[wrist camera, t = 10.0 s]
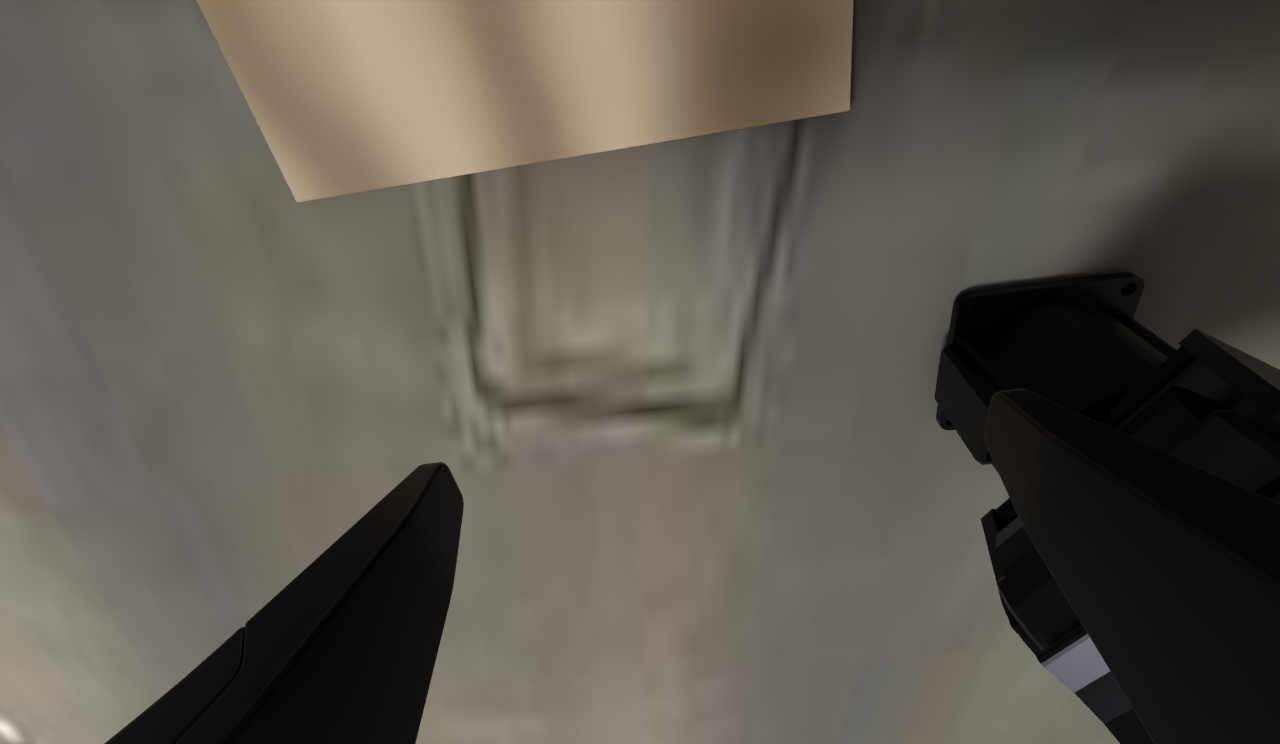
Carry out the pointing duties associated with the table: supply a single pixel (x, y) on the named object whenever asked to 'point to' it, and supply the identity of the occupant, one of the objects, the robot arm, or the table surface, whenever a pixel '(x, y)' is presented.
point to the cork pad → (517, 79)
